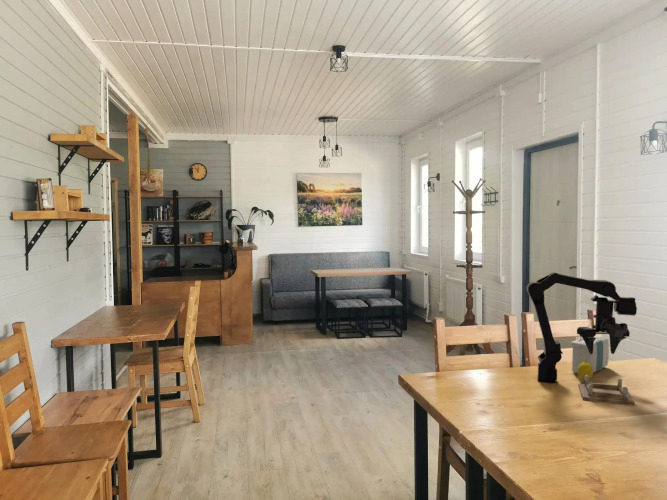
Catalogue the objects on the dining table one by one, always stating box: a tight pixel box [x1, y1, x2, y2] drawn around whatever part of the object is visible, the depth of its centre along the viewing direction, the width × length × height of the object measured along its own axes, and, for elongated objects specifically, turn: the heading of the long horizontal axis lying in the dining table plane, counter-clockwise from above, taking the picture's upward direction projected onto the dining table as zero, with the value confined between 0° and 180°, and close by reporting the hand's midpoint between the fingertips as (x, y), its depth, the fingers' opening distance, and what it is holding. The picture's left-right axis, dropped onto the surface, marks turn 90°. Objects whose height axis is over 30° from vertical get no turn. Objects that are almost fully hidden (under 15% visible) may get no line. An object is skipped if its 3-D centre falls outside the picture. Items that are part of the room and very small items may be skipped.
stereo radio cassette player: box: [570, 320, 610, 375], centre depth 214 cm, size 21×8×20 cm, turn 132°
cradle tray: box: [577, 375, 636, 406], centre depth 183 cm, size 16×16×5 cm
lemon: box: [576, 362, 594, 383], centre depth 198 cm, size 6×6×8 cm
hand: (601, 353), depth 195 cm, fingers open, 9 cm apart
